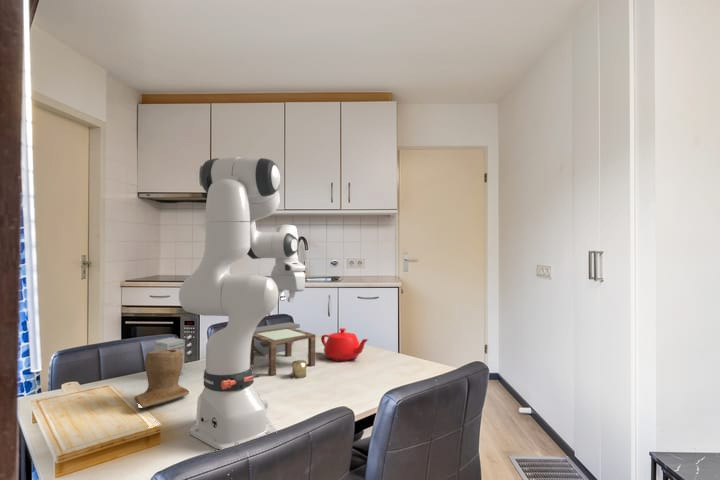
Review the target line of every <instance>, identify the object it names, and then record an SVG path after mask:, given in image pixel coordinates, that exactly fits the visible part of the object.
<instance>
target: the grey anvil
mask: <svg viewBox="0 0 720 480" xmlns="http://www.w3.org/2000/svg"><path fill="white" fill-rule="evenodd" d="M287 327H291V328H294V329H300V328H301V325H300V324H299V323H296V322H291V321H289V322H282V323H275V324H269V325H262V326H257V327H256V329H255V331H254V332H260V331H267V330H273V329H280V328H287ZM261 343H263V342H262V341H259V340H257V339H254V353H257V354H259V355H262V356H269V344H267V343H263V344H261ZM294 343H295V341H292V345H293V344H294ZM282 352H283V353H285V343H281V344H276V354H279V353H282Z"/></svg>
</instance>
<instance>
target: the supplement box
mask: <svg viewBox="0 0 720 480" xmlns="http://www.w3.org/2000/svg"><path fill="white" fill-rule="evenodd" d="M185 343H186V341H185V339H182V338H177V337H167V338H162V339H159V340H155V341H154V344H153V345H154V346H153V347H154V349H153V350H154V351H159V350H170V349H176V350H180V351H181V352H182V356H183V365H182V370H181V373H180V376H182V375H184V374H185V351H186V350H185V348H186V347H185V346H186V344H185Z"/></svg>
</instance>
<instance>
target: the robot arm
mask: <svg viewBox="0 0 720 480" xmlns="http://www.w3.org/2000/svg"><path fill="white" fill-rule="evenodd" d="M199 179H200V180H199V181H200V184H201V186H202V188H203V190H204V192H205V193H206V194H207V197H206V204H205V238H204V239H205V240H204V241H205V242H204V243H205V245H204V252H203V256H202V259H201V262H200V264H199V265H198V266H197V268H196V269H195V271H194V272H193V273H192V274H191V275H189V276H188V277H187V278H186V279H184V281H183V283H182V284H181V285H180V286H179V287H180V288H179V291H178V300H179V301H178V302H179V304H180V306H181V307H182V309H183V310H184V311H185V312H186V313H191V314H195V315H199V316H204V317H205V316H207V317H208V316H210V317H213V316H215V317H219V316H220V317H222V316H223V317H228V320H227V324H226V327H224V328H221V329H219V330H217V331H215V332H214V333H212V335H210V337H209V338H208V339H207V342H206V345H205V369H204V372H203V377H202V379H203V386H204V388H203V389H202V391H201V393H200V394H199V396H198V398H197V403H196V416H195V418H196V419H195V425H193V426H192V427H191V428H189V429H190V430H189V434H190V435H191V436H192V437H195V438H196V439H197V440H199V441H201V442H203V443H205V444H208V445H209V446H210V447H212V448H215V449H216V448H217V449H216V450H218V449H222V448H226V447H230V446H233V445H236V444H239V443H242V442H246V441H249V440H251V439H254V438H257V437H260V436H263V435H266V434H268V433H272V432H274V431H276V432H277V428H276V427H275V426H274V424H272V422H271V421H270V419H269V418H268V417H267V409H268V406H269V405H268V401H267V399H262V397H261V395H260V391H258V390H257V389H256V386H255V384H254V378H255V377H254V376H253V374H254V372H253V369H252V366H251V365H250V353H251V342H252V337H253V333H254V331H255V329H256V327H258V325H259V324H260V322H262V320H263V319H264V318H265V317H266V316H268V315H269V314H271V312H272V311H273V310H275V308H276V306H277V304H278V301H286V295H285V293H284V292H285V291H288V294H289V295H288V297H287V302H288V303H293V302H294V298H295V296H296V293H297V292H299V293H300V292H303V291H304V290H305V287H306V274H305V271H306V265H305V264H303V263H301V262H300V261H299V256H298V250H299V234H298V229H297V226H296V225H294V224H289V223H281V224H279V225H277V227H276V231H275V232H274V231H272V232H271V231H267V232H266V231H265V232H264V231H259V230H257V226H256V225H257V224H256V221H258V220H261V219H265V218H268V217H269V216H272V214H274V213H275V212H276V211H277V209H278V208H279V206H280V203H281V197H280V196H281V195H280V191H279V189H280V185H281V174H280V169H279V167H278V165H277V163H275V162H274V161H273V160H272V159H268V158H265V157H264V158H263V157H262V158H261V157H260V158H255V157H254V158H253V157H240V156H233V157H224V158H217V157H216V158H213V159H209V160H206V161H205V162H204V163H203V165H202V166H201V168H200V171H199ZM246 255H247V256H248V257H249V258H251V259H252V260H256V259H257V260H258V259H260V260H261V259H274V260H275V261H274V262H275V264H274V266H273V268H272V270H271V272H270V273H271V274H270V277H269V276H268V277H267V276H264V275H259V274H255V273H253V274H252V273H251V274H250V273H249V274H248V273H247V274H246V273H244V274H243V273H233V274H232V273H231V271H230V269H231V266H232V264H233V263H234V262H237V261H238V260H241V259H242V258H244V257H245V256H246Z"/></svg>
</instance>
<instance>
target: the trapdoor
mask: <svg viewBox="0 0 720 480" xmlns="http://www.w3.org/2000/svg"><path fill="white" fill-rule="evenodd" d="M257 335H260V336H262V337H265V338H268V339H271V340H280V339H285V338H291V337H297V336H303V335H306V334H303V333H299V332H296V331H293V330H289V329H283V330H277V331H270V332H264V333H257Z"/></svg>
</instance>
